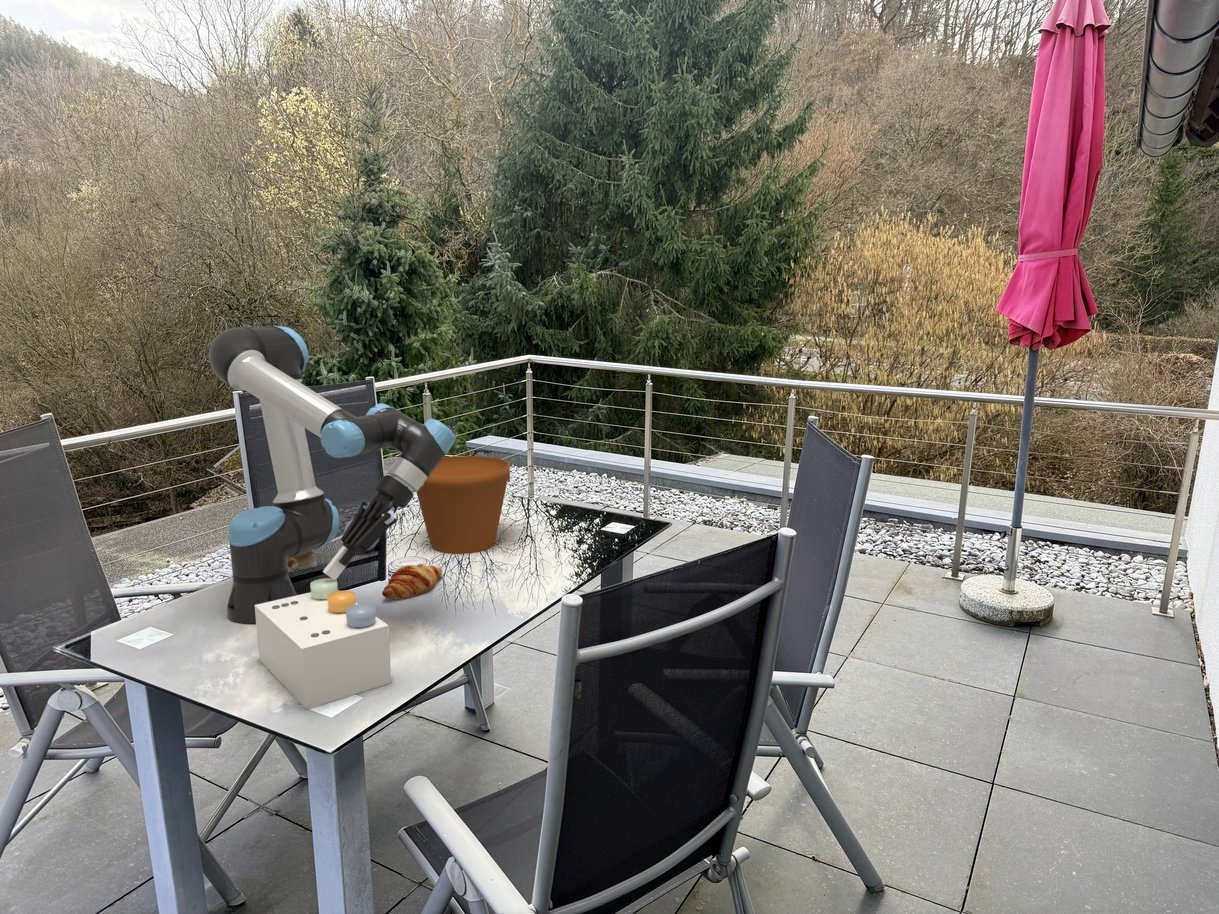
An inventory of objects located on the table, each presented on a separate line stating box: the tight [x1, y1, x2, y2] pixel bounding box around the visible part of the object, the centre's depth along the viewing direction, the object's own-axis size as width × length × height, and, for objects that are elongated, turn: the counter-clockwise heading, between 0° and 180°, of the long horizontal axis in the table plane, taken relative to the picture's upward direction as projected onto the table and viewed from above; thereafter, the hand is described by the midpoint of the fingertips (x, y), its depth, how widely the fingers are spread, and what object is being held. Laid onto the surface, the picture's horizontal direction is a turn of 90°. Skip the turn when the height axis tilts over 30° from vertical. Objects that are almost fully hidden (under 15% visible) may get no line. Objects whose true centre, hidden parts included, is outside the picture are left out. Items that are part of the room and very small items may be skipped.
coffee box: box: [287, 549, 318, 573], centre depth 215 cm, size 9×6×16 cm
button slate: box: [346, 603, 377, 628], centre depth 152 cm, size 5×5×6 cm
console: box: [255, 589, 392, 711], centre depth 157 cm, size 16×26×12 cm, turn 40°
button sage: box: [309, 577, 339, 600], centre depth 166 cm, size 5×5×6 cm
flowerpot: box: [415, 455, 511, 555], centre depth 236 cm, size 28×28×24 cm
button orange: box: [327, 590, 357, 613], centre depth 159 cm, size 5×5×6 cm
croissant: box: [381, 563, 443, 600], centre depth 201 cm, size 21×10×8 cm, turn 154°
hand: (328, 576), depth 165 cm, fingers closed
